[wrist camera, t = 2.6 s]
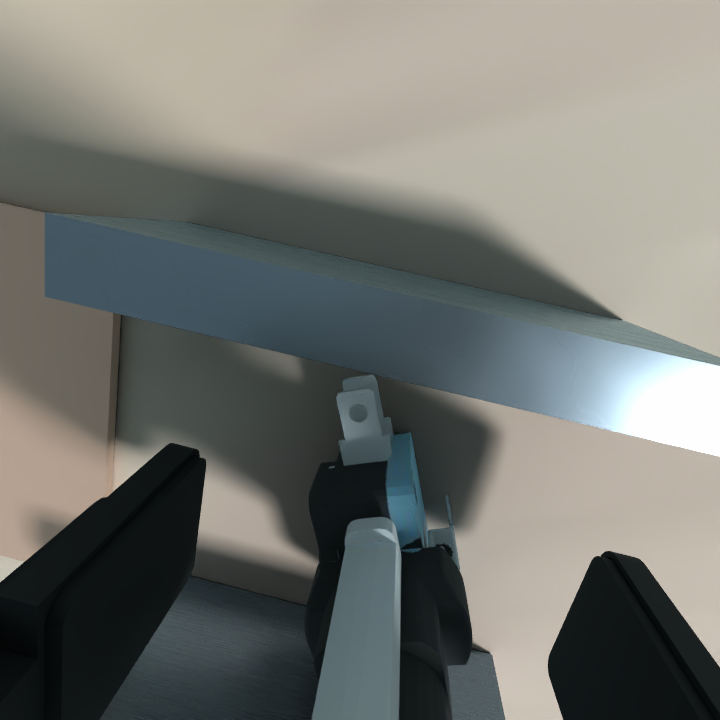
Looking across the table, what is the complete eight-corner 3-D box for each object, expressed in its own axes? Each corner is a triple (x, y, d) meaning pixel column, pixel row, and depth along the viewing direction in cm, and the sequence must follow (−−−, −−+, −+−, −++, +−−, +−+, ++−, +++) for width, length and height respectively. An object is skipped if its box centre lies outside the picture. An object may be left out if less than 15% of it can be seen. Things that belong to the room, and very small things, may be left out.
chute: (624, 320, 9) (772, 378, 6) (479, 685, 13) (511, 880, 9) (185, 221, 10) (44, 212, 6) (151, 598, 13) (44, 749, 9)
